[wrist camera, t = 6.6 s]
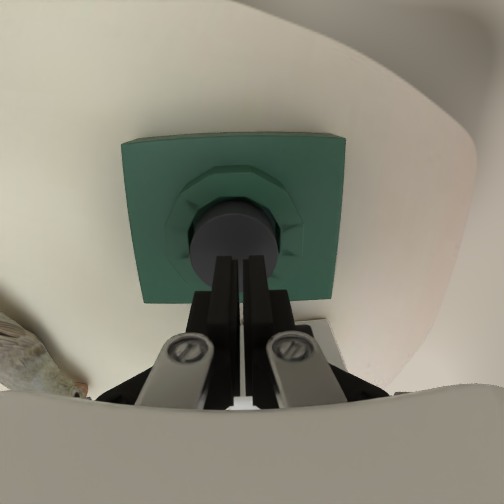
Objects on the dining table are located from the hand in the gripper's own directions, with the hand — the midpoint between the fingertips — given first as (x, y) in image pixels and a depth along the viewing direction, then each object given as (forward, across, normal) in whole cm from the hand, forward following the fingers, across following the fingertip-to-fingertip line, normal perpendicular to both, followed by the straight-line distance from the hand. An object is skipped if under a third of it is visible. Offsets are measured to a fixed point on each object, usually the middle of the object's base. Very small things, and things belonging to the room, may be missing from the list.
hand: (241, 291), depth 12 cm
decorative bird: (+10, +20, +11) cm, 25 cm away
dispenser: (+10, 0, 0) cm, 10 cm away
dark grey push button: (+5, 0, 0) cm, 5 cm away
